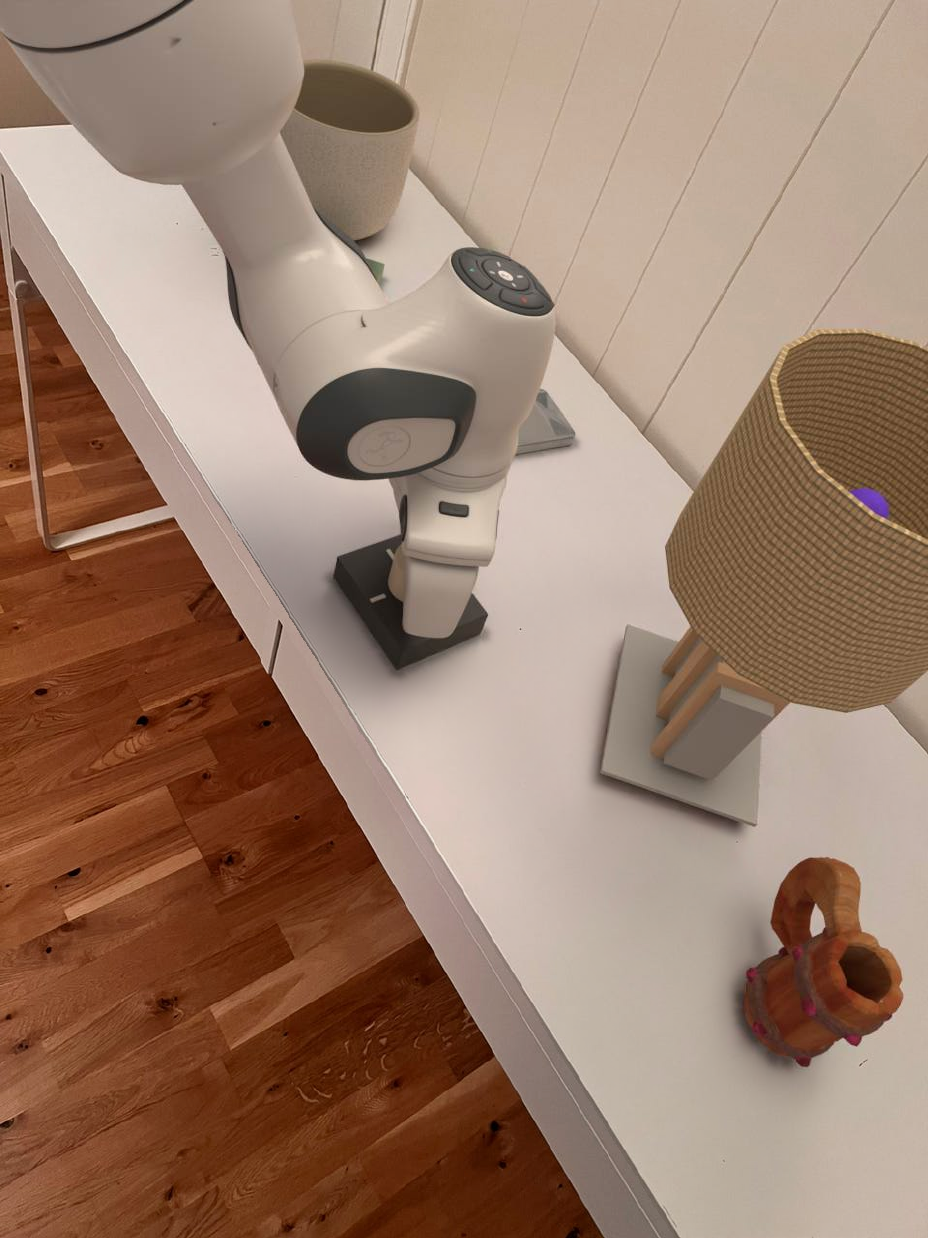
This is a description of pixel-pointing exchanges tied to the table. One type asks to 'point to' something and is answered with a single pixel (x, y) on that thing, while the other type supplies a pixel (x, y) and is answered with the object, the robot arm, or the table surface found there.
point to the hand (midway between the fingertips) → (413, 579)
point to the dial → (397, 574)
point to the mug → (820, 968)
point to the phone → (544, 427)
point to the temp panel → (394, 605)
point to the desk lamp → (787, 573)
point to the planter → (351, 144)
